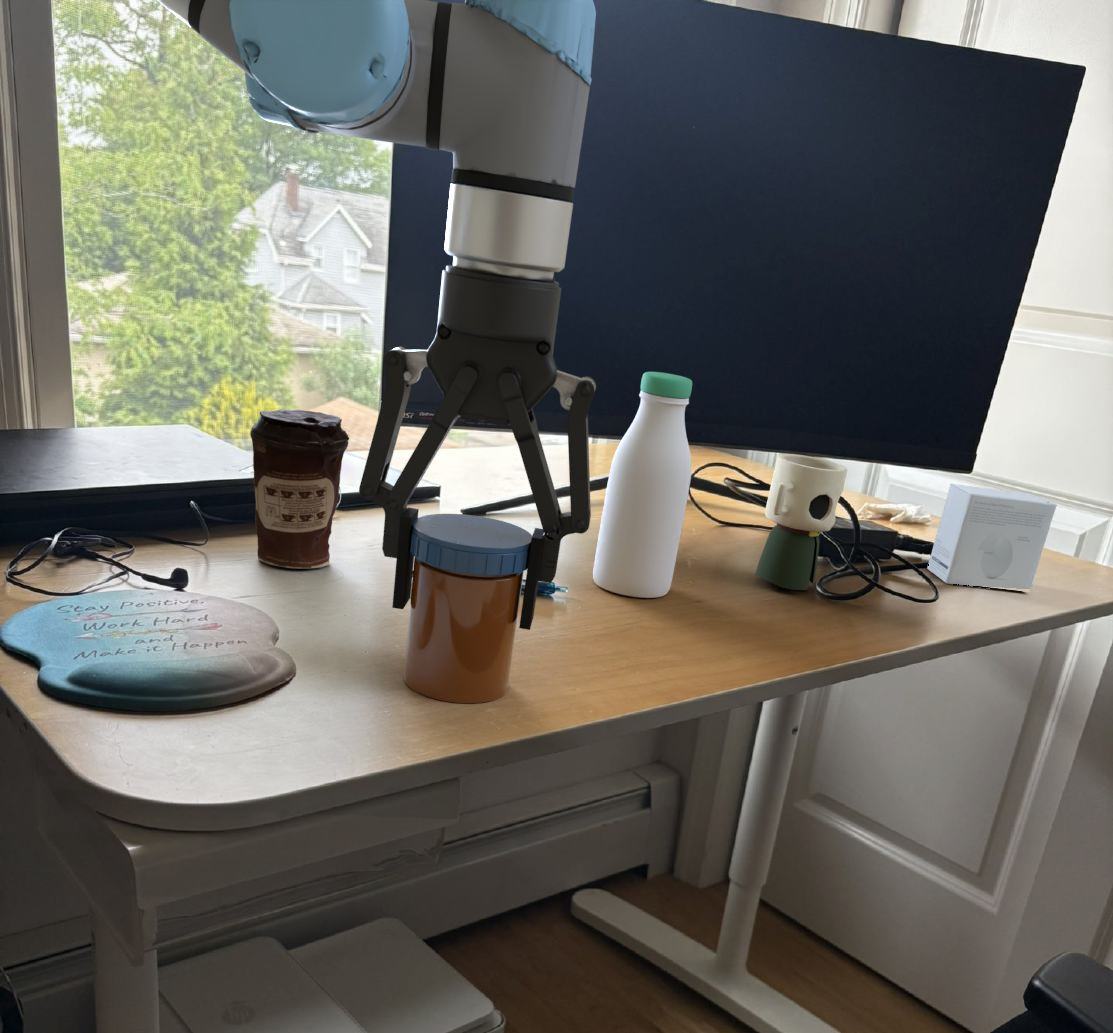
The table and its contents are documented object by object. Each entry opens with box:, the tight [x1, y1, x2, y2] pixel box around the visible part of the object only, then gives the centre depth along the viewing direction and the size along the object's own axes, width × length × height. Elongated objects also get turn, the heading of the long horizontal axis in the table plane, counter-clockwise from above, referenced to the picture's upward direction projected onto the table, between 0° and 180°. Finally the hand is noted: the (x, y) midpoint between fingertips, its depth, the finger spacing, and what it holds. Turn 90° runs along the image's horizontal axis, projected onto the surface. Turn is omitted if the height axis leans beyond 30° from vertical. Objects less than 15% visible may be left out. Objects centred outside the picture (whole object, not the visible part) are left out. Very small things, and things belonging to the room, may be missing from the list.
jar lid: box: [410, 513, 533, 576], centre depth 78 cm, size 8×8×2 cm
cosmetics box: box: [927, 483, 1057, 590], centre depth 131 cm, size 10×6×10 cm, turn 94°
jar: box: [402, 557, 525, 704], centre depth 80 cm, size 8×8×11 cm
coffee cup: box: [249, 409, 350, 570], centre depth 100 cm, size 9×8×13 cm
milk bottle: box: [592, 371, 693, 599], centre depth 107 cm, size 8×8×20 cm
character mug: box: [754, 453, 848, 591], centre depth 117 cm, size 11×7×13 cm, turn 138°
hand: (463, 612), depth 80 cm, fingers closed on jar lid, 8 cm apart
